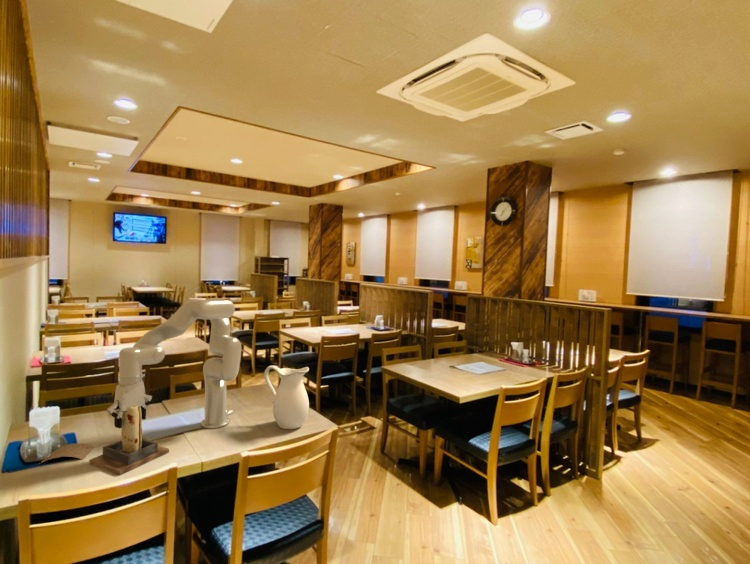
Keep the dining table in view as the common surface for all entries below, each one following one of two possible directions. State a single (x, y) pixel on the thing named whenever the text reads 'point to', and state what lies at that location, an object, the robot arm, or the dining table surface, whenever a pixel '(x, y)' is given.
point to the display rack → (127, 456)
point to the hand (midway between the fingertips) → (130, 423)
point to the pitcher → (289, 397)
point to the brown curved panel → (71, 451)
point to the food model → (132, 430)
